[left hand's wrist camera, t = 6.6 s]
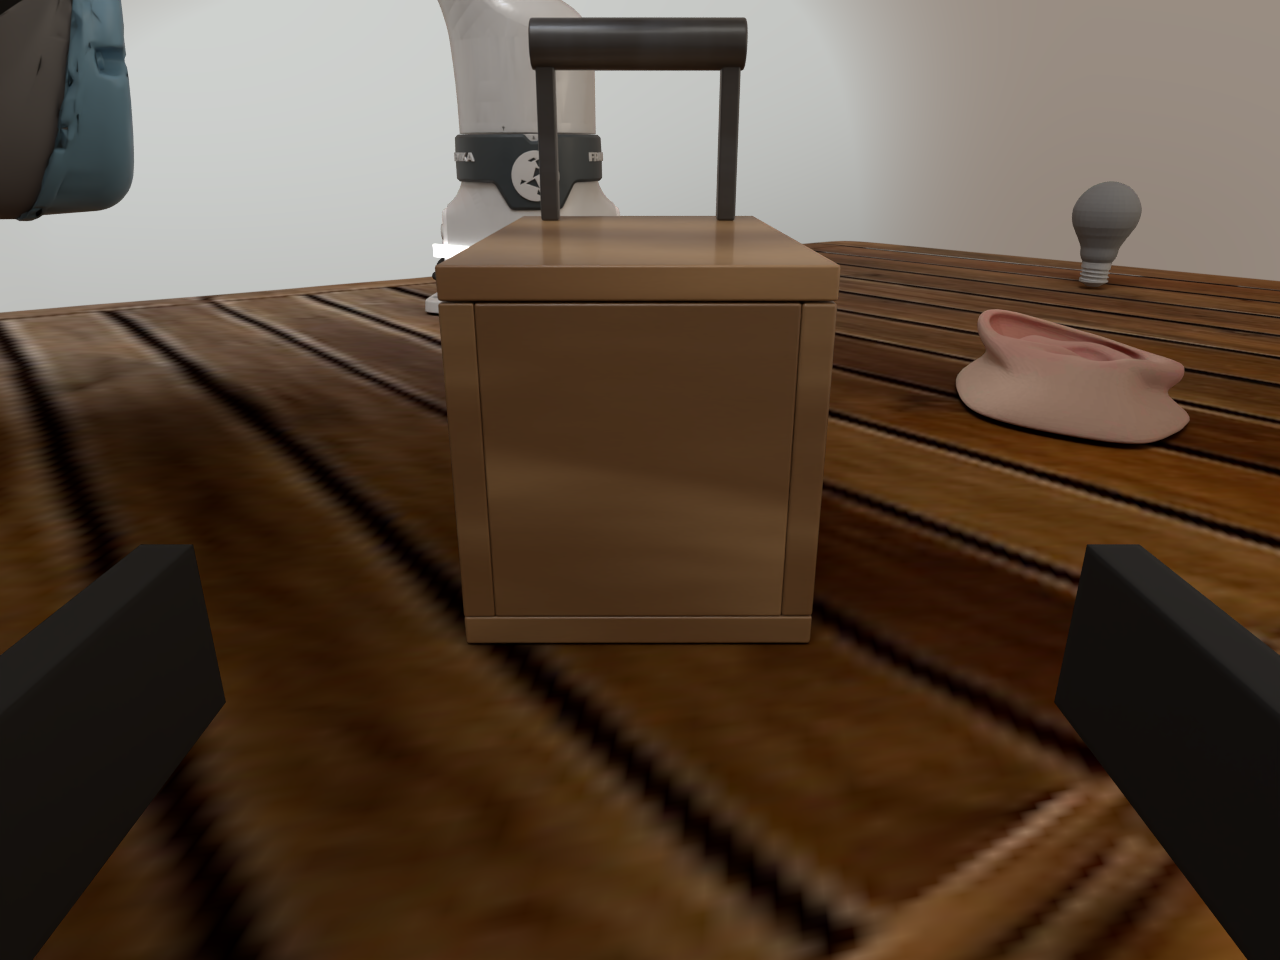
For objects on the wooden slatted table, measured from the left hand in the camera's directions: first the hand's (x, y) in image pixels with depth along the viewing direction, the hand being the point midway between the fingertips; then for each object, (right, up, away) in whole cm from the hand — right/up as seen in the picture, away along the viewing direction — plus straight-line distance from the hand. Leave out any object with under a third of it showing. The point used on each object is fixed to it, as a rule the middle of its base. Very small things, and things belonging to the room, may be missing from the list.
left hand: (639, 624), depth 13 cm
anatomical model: (+23, +6, +34) cm, 41 cm away
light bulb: (+46, +22, +74) cm, 90 cm away
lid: (0, +9, +16) cm, 18 cm away
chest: (0, 0, +19) cm, 19 cm away
